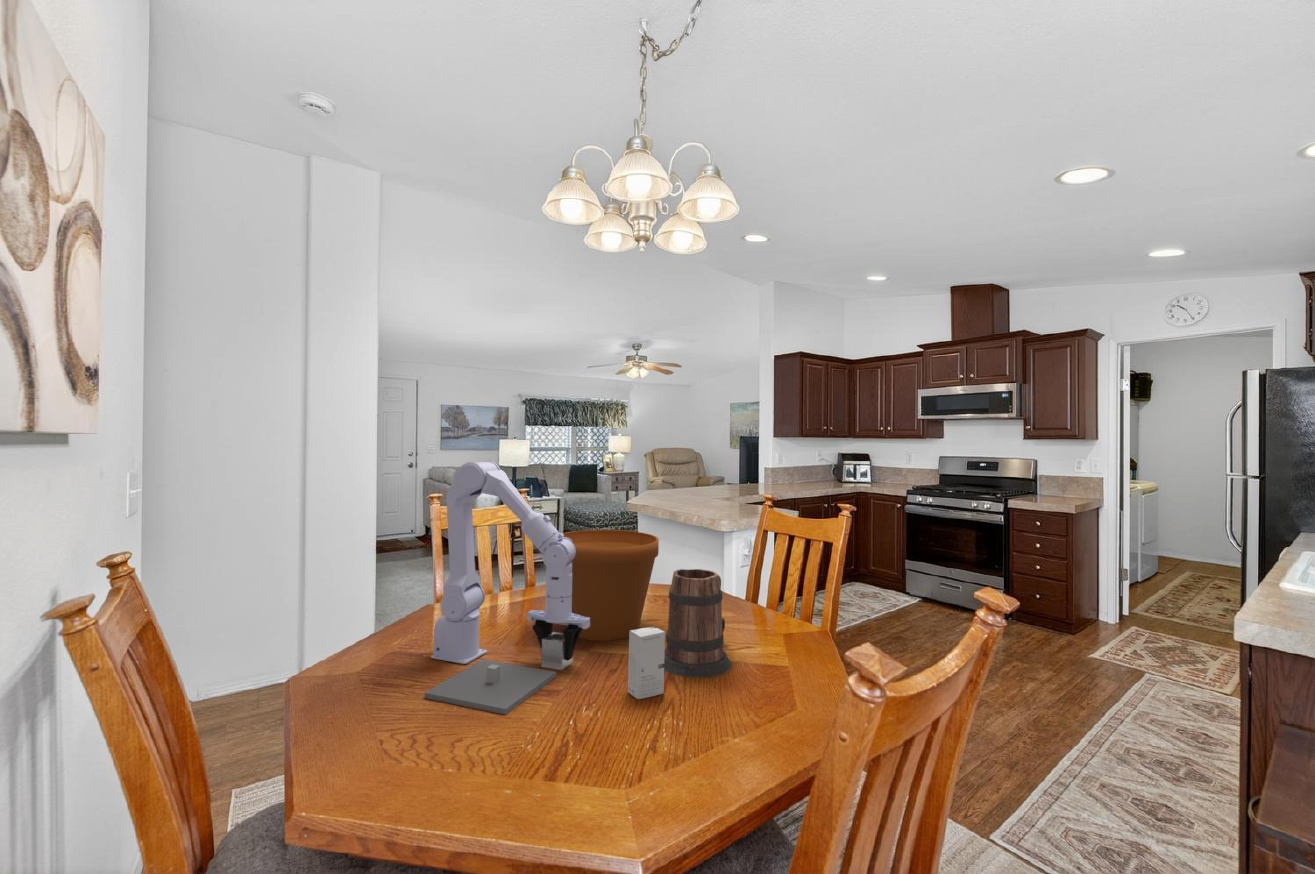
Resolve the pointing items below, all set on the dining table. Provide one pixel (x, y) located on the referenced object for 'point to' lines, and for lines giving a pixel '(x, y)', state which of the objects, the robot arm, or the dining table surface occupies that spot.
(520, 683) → the block
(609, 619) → the flowerpot
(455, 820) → the dining table surface
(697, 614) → the tankard
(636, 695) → the skincare box
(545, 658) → the square socket
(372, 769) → the dining table surface
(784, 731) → the dining table surface
